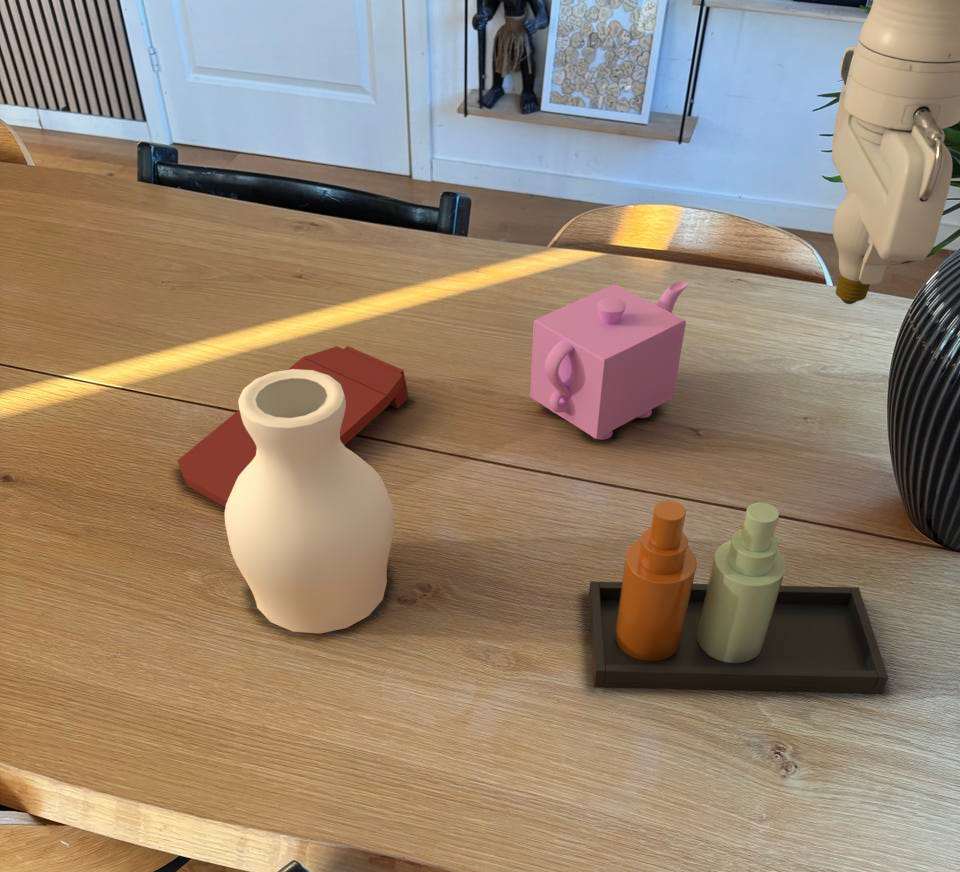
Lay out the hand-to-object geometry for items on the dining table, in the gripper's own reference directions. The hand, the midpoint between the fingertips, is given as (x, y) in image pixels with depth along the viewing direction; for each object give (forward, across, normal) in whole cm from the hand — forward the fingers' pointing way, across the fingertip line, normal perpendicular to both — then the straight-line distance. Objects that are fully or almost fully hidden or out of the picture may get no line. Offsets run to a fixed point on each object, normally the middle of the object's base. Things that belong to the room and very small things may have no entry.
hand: (859, 262), depth 86 cm
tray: (+23, -24, +10) cm, 34 cm away
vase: (+23, -18, +46) cm, 55 cm away
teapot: (+23, +12, +19) cm, 32 cm away
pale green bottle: (+22, -24, +10) cm, 34 cm away
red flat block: (+23, +4, +52) cm, 56 cm away
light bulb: (+4, 0, 0) cm, 4 cm away
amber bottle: (+22, -24, +17) cm, 37 cm away
